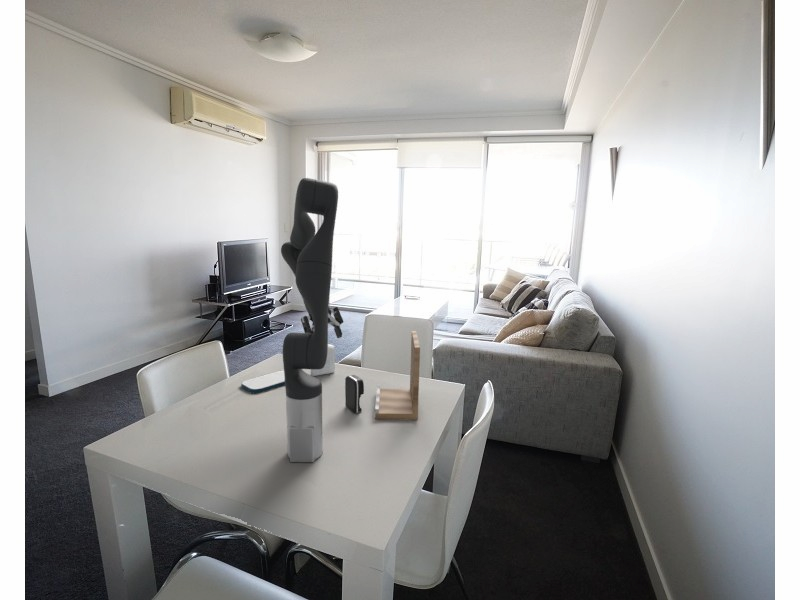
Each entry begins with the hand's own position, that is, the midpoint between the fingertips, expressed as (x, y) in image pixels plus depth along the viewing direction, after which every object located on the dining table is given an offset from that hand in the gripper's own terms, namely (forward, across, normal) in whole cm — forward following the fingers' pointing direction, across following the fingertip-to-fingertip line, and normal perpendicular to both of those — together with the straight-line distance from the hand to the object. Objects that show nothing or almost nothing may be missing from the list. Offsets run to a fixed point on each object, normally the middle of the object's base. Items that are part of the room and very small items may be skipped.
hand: (329, 341), depth 138 cm
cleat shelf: (+28, +12, -6) cm, 31 cm away
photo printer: (+11, +12, +33) cm, 37 cm away
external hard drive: (+8, -7, +36) cm, 38 cm away
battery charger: (+24, 0, 0) cm, 25 cm away
